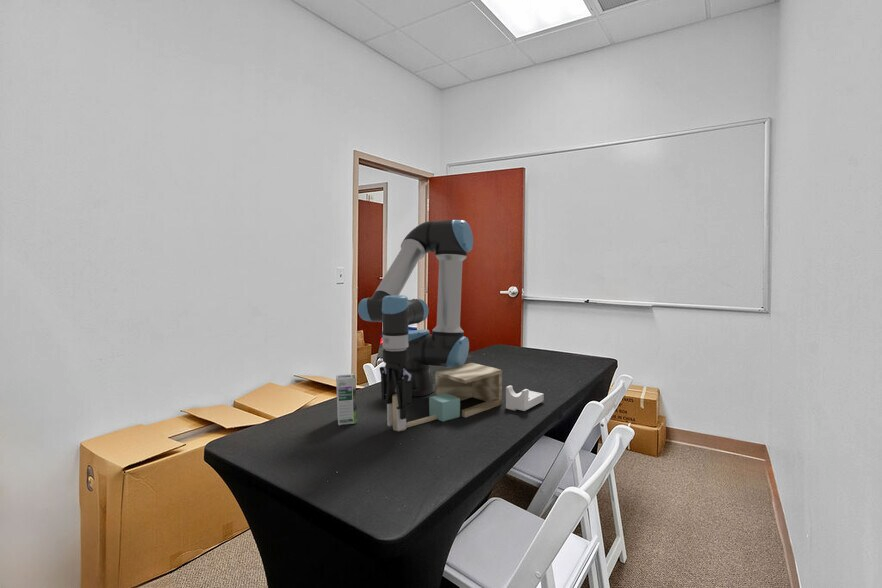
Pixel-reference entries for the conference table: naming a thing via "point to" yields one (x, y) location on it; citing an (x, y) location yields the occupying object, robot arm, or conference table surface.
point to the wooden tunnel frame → (471, 385)
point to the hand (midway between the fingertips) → (396, 426)
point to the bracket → (522, 399)
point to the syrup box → (346, 399)
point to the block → (432, 410)
